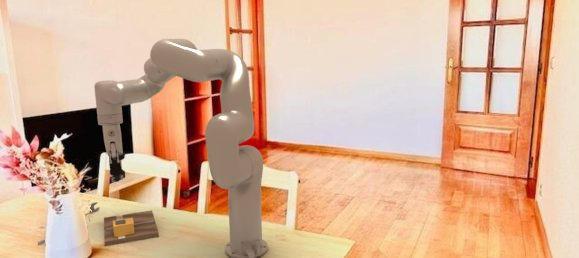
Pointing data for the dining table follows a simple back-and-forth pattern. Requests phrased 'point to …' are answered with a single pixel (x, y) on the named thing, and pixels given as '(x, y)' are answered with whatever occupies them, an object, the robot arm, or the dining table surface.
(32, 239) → the dining table surface
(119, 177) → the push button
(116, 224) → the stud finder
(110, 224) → the board
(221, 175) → the robot arm
